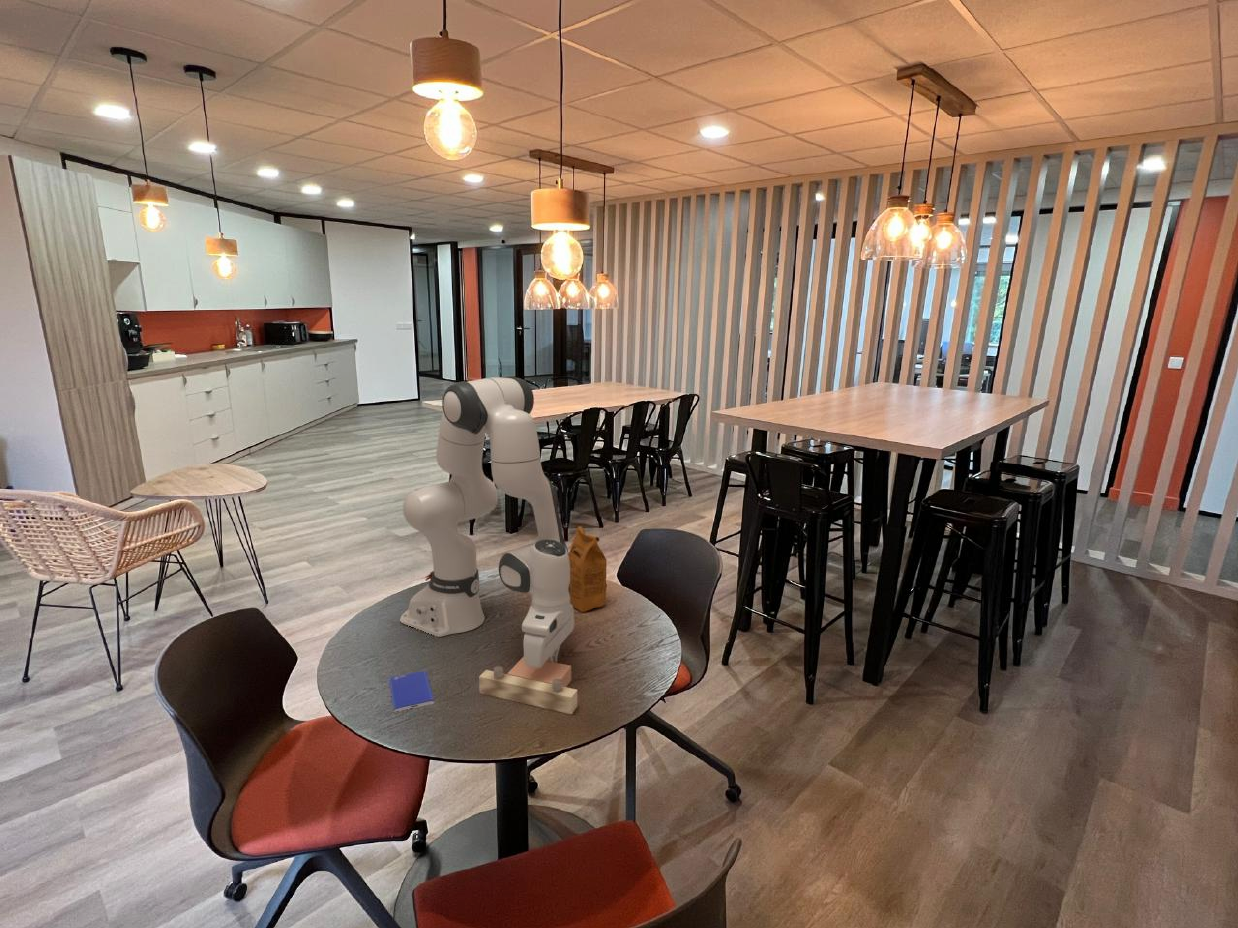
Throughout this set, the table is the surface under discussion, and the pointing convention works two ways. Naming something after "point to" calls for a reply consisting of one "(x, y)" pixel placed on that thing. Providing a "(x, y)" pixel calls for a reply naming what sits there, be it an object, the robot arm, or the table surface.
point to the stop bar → (528, 691)
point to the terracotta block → (543, 672)
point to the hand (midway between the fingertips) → (551, 665)
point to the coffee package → (587, 572)
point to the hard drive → (410, 691)
